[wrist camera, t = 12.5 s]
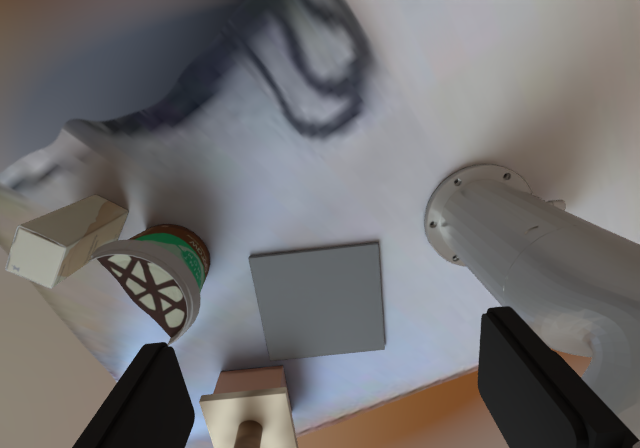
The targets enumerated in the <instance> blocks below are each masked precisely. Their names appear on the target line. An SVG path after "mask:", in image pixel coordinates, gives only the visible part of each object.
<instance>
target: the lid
mask: <svg viewBox="0 0 640 448" xmlns="http://www.w3.org/2000/svg"><path fill="white" fill-rule="evenodd" d="M199 403H200V406H201V409H202V412H203V415H204V418H205V421H206V425H207V428H208V431H209V434H210V437H211V440H212V443H213V446H214V448H298V444H297V438H296V433H295V428H294V423H293V418H292V413H291V408H290V403H289V398H288V393H287V388H286V387H281V388H271V389H261V390H251V391H241V392H231V393H221V394H211V395H202V396H201V399H200V401H199Z"/></svg>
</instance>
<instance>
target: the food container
mask: <svg viewBox="0 0 640 448" xmlns="http://www.w3.org/2000/svg"><path fill="white" fill-rule="evenodd" d="M91 257H92V259H91V260H90V261H92V260H94V259H97V260H98V261H99V262H100V263H101V264H102V265H103V266H104V267H105V268H106V269H107V270H108V271H109V272H110V273H111V274H112V275H113V276H114V277H115V278H116V279H117V281H118V282H119V283H120V284H121V286H122V287H123V289H124V290H125V291H126V293H127V294H128V295H129V297H130V298H131V299H132V300H133V301H134V303H136V304H137V305H138V306H139V307H140V308H141V309H142V310H144V311H145V312H146V313H147V314H148V315H150V316H151V317H152V318H153V319H154V320H155V321H156V322H157V323H158V324H159V325H160V326H161V327H162V328H163V329H164V331H165V332H166V333H167V334H168V335H169V336H170V337H171V338H170V341H169V343H168V345H170V344H171V343H173V342H174V341H176V340H177V339H179V338H180V337H181V336H182V335H183V334H184V333H185V332H186V331H187V330H188V329H189V328H190V327H191V325H192V324H193V323H194V321H195V320H196V317H197V315H198V313H199V308H200V292H201V289H202V287H203V284H204V282H205V279H206V277H207V274H208V271H209V267H210V255H209V252H208V249H207V247H206V245H205V244H204V242H203V241H202V240H201V238H200V237H199V236H198V235H196V234H195V233H194V232H192V231H191V230H189V229H187V228H184V227H182V226H178V225H173V224H162V225H157V226H154V227H151V228H149V229H147V230H145V231H143V232H141V233H140V234H138V235H136V236H134V237H132V238H130V239H128V240H119V241H113V242H110V243H107V244H104V245H102V246H100V247H98V248H97V249H96V250H95V251H94V253H93V254H92V255H91ZM90 261H88V262H90Z"/></svg>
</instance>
